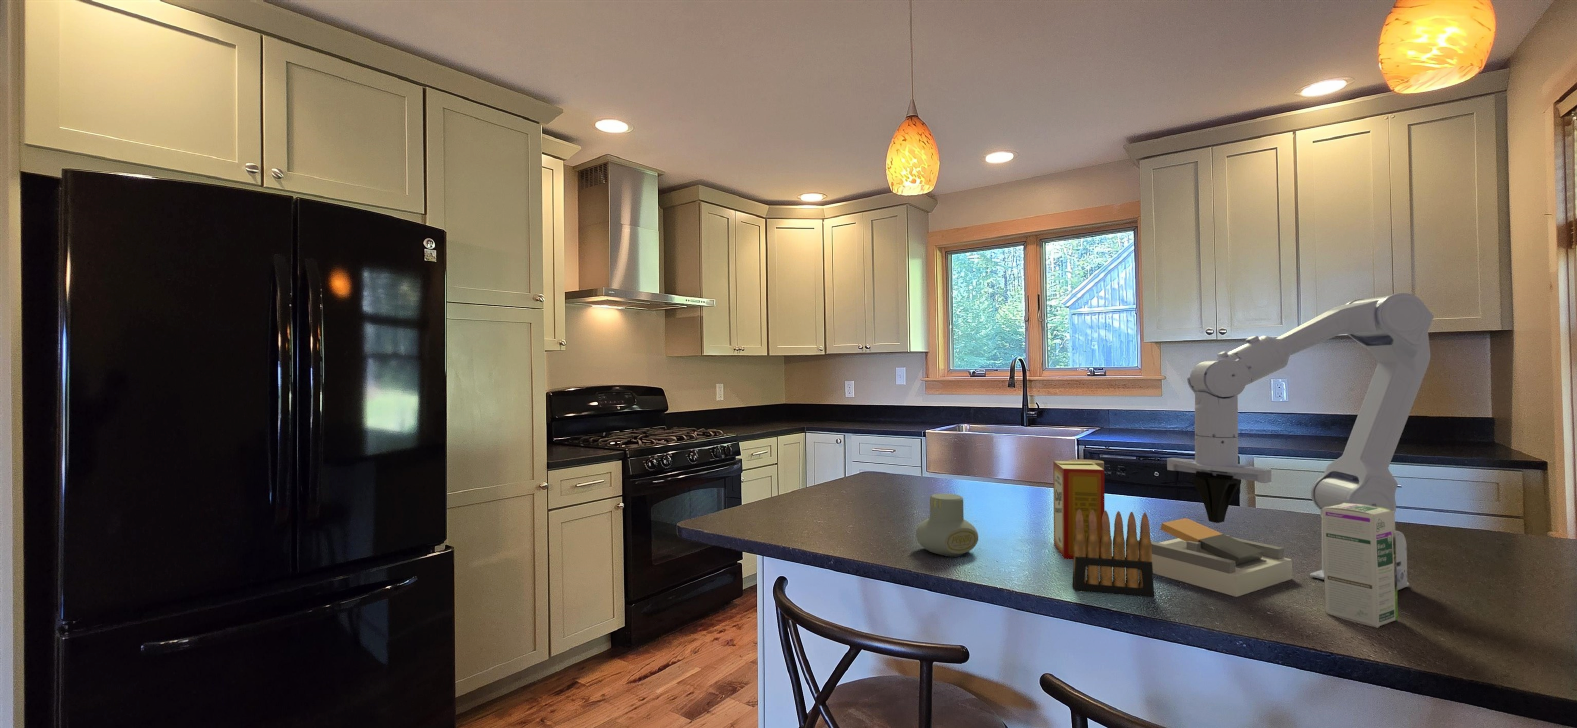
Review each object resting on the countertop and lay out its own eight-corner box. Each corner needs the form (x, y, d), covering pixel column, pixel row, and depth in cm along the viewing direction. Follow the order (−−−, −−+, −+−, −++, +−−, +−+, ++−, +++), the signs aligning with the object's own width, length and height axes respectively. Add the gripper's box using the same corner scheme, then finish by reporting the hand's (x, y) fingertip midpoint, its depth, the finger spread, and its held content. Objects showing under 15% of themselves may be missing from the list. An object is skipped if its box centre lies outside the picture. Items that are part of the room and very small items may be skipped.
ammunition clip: (1151, 593, 95) (1150, 511, 95) (1154, 597, 93) (1153, 514, 93) (1072, 586, 98) (1071, 507, 98) (1074, 590, 96) (1073, 509, 96)
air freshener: (956, 542, 122) (956, 489, 123) (986, 553, 115) (986, 497, 115) (908, 549, 118) (907, 494, 118) (936, 561, 111) (935, 503, 111)
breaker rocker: (1261, 558, 100) (1263, 551, 100) (1237, 565, 97) (1239, 557, 97) (1184, 524, 111) (1186, 517, 110) (1160, 529, 107) (1161, 522, 107)
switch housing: (1292, 578, 101) (1291, 543, 101) (1236, 596, 93) (1236, 558, 93) (1186, 553, 115) (1186, 522, 115) (1131, 566, 107) (1130, 533, 107)
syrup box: (1378, 628, 81) (1377, 513, 81) (1322, 613, 87) (1321, 504, 87) (1399, 620, 84) (1397, 508, 84) (1343, 605, 89) (1342, 500, 89)
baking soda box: (1104, 561, 110) (1104, 467, 110) (1064, 558, 112) (1063, 466, 112) (1091, 546, 120) (1090, 459, 120) (1053, 544, 121) (1053, 458, 121)
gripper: (1156, 433, 107) (1156, 515, 107) (1254, 441, 94) (1254, 534, 94) (1180, 431, 111) (1180, 510, 111) (1278, 439, 98) (1278, 528, 98)
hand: (1216, 521), depth 103 cm, fingers closed
